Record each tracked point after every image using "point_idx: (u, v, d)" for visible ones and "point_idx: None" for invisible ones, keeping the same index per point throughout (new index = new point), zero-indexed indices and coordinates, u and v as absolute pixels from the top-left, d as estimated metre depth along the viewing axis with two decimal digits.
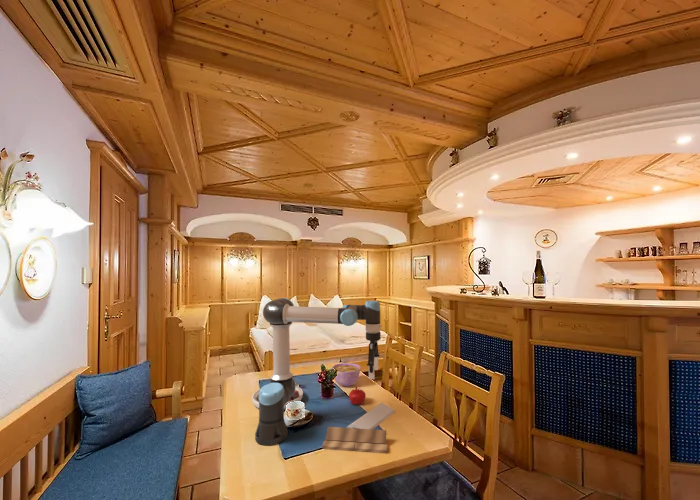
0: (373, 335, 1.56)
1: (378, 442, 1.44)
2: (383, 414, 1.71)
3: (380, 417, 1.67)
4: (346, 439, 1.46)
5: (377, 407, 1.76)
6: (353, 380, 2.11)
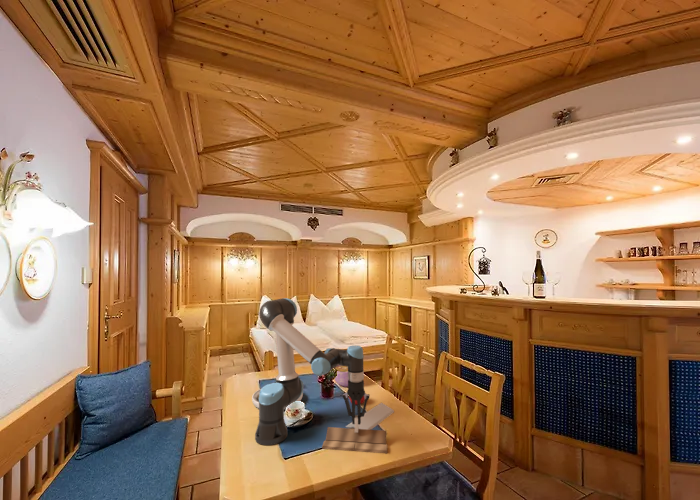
0: (348, 382, 1.49)
1: (378, 442, 1.44)
2: (382, 414, 1.71)
3: (379, 417, 1.68)
4: (346, 439, 1.46)
5: (376, 407, 1.76)
6: None
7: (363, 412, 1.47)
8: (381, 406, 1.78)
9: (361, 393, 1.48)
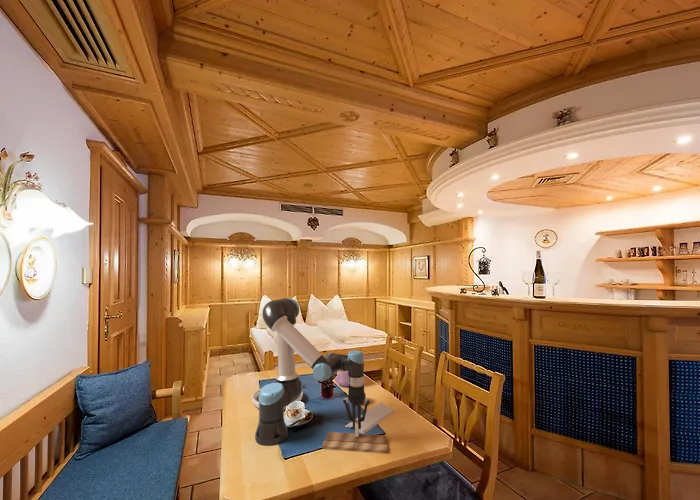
0: None
1: (378, 442, 1.44)
2: (382, 414, 1.71)
3: (378, 417, 1.68)
4: (346, 440, 1.46)
5: (376, 407, 1.76)
6: None
7: (363, 417, 1.48)
8: (381, 406, 1.78)
9: (361, 398, 1.48)
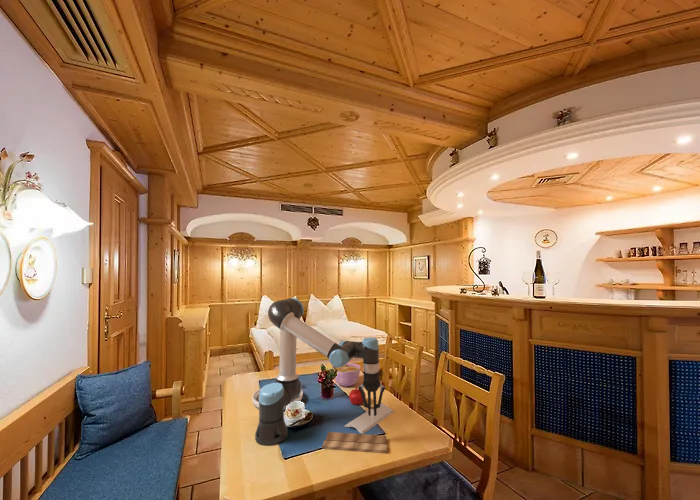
0: None
1: (378, 442, 1.44)
2: (382, 414, 1.71)
3: (378, 417, 1.68)
4: (346, 440, 1.46)
5: None
6: (353, 380, 2.11)
7: (379, 403, 1.47)
8: (380, 406, 1.78)
9: (377, 384, 1.48)
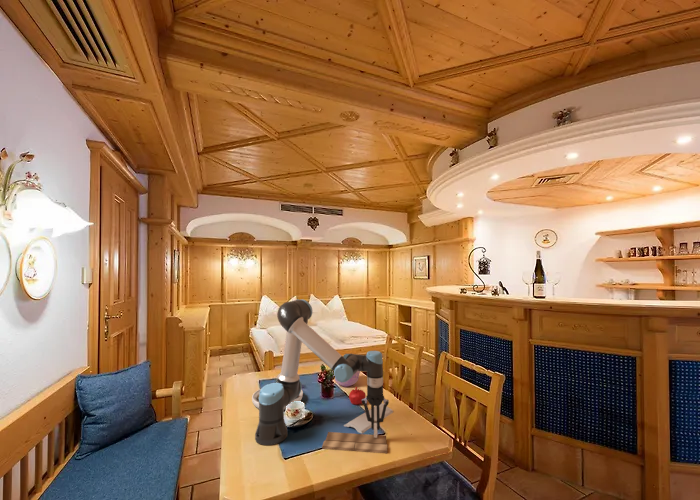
0: (367, 387, 1.49)
1: (378, 442, 1.44)
2: (381, 414, 1.71)
3: None
4: (346, 440, 1.46)
5: (375, 407, 1.76)
6: (353, 380, 2.11)
7: (382, 417, 1.47)
8: (380, 406, 1.78)
9: (380, 398, 1.47)
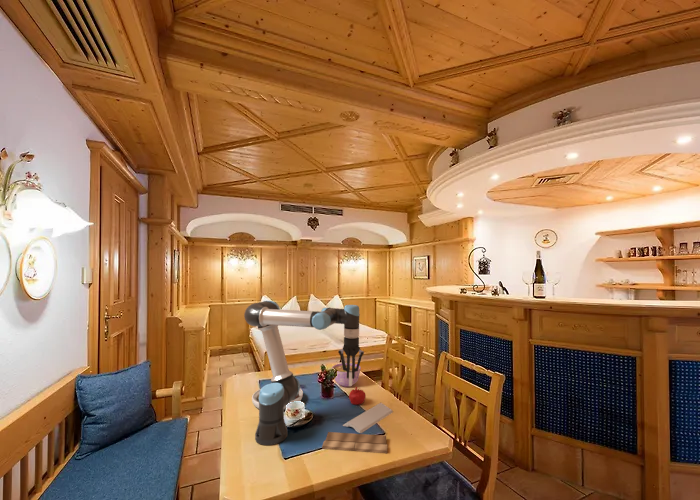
0: None
1: (378, 442, 1.44)
2: (380, 414, 1.71)
3: (377, 417, 1.68)
4: (346, 440, 1.46)
5: (375, 407, 1.76)
6: (353, 380, 2.11)
7: (357, 367, 1.54)
8: (380, 406, 1.78)
9: (356, 349, 1.54)
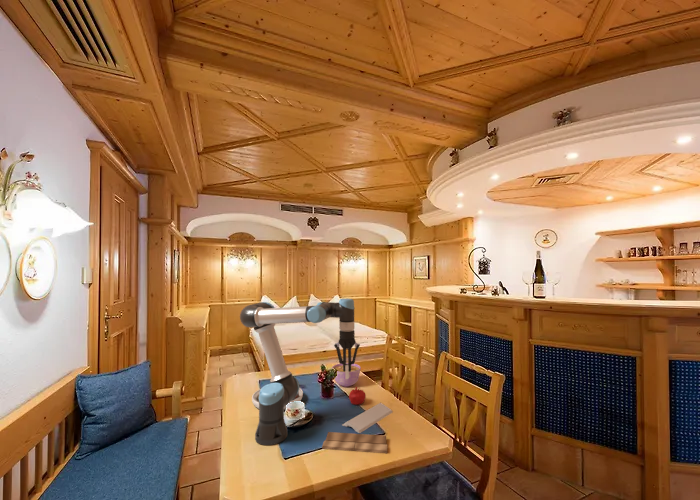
0: (339, 332, 1.57)
1: (378, 442, 1.44)
2: (380, 414, 1.71)
3: (376, 417, 1.68)
4: (346, 440, 1.46)
5: (375, 407, 1.76)
6: (353, 380, 2.11)
7: (353, 360, 1.55)
8: (379, 406, 1.78)
9: (352, 342, 1.56)
